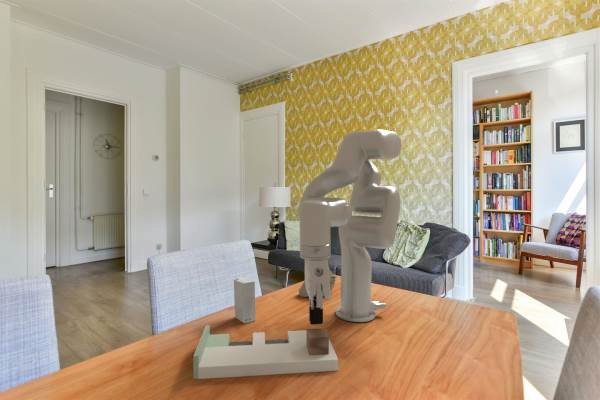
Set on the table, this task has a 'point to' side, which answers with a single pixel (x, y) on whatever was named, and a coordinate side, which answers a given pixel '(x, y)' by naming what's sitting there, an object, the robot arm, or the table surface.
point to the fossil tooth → (332, 281)
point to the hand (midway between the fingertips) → (316, 322)
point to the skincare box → (244, 299)
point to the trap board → (257, 356)
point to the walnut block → (317, 342)
